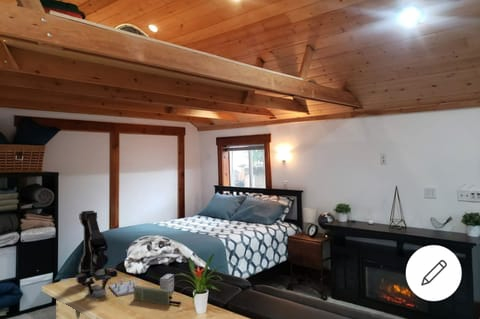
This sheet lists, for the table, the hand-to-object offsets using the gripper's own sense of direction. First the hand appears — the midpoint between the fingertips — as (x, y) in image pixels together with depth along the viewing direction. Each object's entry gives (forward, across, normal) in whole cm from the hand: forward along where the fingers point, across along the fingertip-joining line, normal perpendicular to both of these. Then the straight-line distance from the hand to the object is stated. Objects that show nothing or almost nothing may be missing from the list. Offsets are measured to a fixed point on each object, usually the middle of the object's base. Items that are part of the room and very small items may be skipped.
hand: (96, 292), depth 175 cm
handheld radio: (+2, +21, -26) cm, 34 cm away
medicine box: (+1, +30, -18) cm, 35 cm away
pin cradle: (+1, +14, 0) cm, 14 cm away
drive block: (+1, 0, 0) cm, 1 cm away
